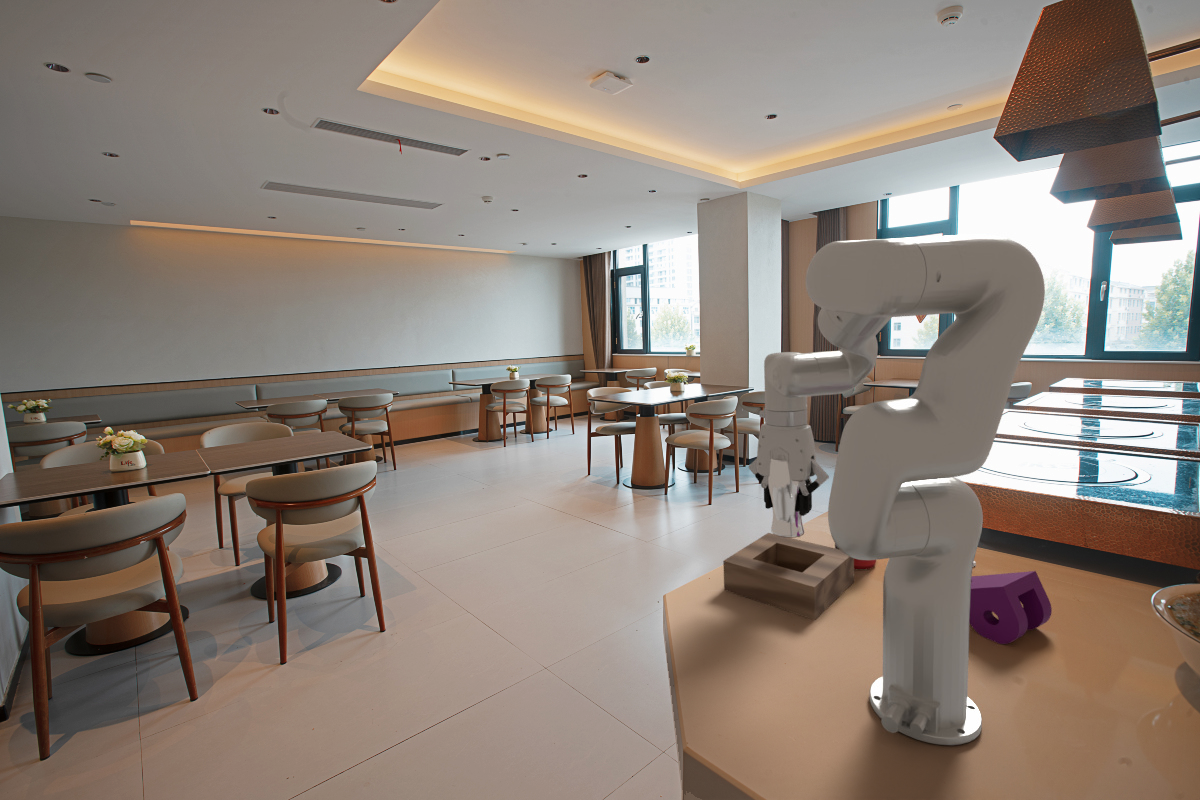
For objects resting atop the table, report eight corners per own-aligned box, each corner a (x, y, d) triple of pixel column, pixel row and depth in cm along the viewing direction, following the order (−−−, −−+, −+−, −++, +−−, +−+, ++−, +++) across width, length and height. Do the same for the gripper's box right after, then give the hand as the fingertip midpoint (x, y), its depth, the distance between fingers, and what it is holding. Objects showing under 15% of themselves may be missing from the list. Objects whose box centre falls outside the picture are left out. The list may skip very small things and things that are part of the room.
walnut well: (814, 619, 95) (814, 587, 94) (724, 589, 108) (723, 560, 107) (853, 581, 108) (853, 552, 107) (768, 559, 120) (768, 532, 120)
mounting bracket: (921, 642, 97) (1028, 644, 82) (902, 593, 99) (1002, 586, 84) (953, 626, 101) (1061, 625, 86) (934, 579, 103) (1035, 570, 88)
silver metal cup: (762, 534, 106) (760, 458, 104) (778, 523, 111) (776, 450, 110) (797, 541, 102) (796, 462, 100) (812, 530, 107) (811, 454, 105)
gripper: (734, 418, 107) (737, 507, 109) (823, 425, 95) (824, 525, 97) (754, 412, 112) (756, 497, 115) (840, 418, 100) (840, 513, 103)
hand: (787, 509), depth 106 cm, fingers closed on silver metal cup, 6 cm apart
